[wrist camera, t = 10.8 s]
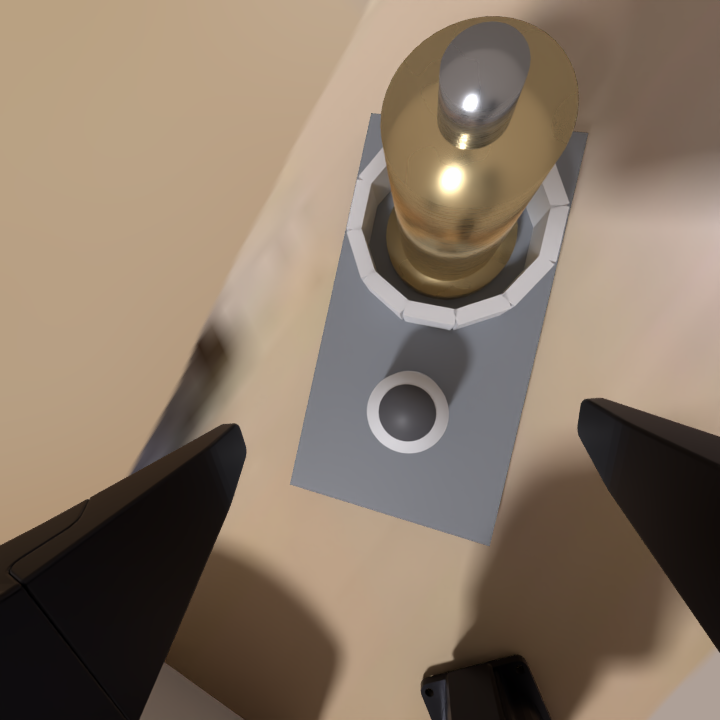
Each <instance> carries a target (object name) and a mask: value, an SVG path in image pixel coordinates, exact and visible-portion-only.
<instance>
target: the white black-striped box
mask: <svg viewBox="0 0 720 720" xmlns="http://www.w3.org/2000/svg"><path fill="white" fill-rule="evenodd" d="M140 720H244V719H243V718H241V717H240V716H239V715H237V714H236V713H234V712H233V711H232V710H230V709H229V708H227V707H226V706H225V705H223V704H222V703H220V702H219V701H218V700H216V699H215V698H214V697H212V696H211V695H209V694H208V693H207V692H205V691H204V690H202V689H201V688H200V687H198V686H197V685H195V684H194V683H193V682H191V681H190V680H189V679H187V678H186V677H184V676H183V675H182V674H180V673H179V672H177V671H176V670H175V669H173V668H172V667H170V666H169V665H168V664H166V663H165V662H164V664H163V666H162V668H161V671H160V673H159V675H158V678H157V680H156V682H155V685H154V687H153V689H152V692H151V694H150V696H149V699H148V701H147V703H146V706H145V708H144V710H143V713H142V715H141V717H140Z"/></svg>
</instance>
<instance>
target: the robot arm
mask: <svg viewBox="0 0 720 720" xmlns="http://www.w3.org/2000/svg"><path fill="white" fill-rule="evenodd" d="M577 429H578V435H579V437H580V439H581V441H582V443H583V445H584V447H585V448H586V450H587V452H588V454H589V456H590V458H591V460H592V461H593V463H594V465H595V467H596V469H597V471H598V472H599V474H600V476H601V478H602V480H603V482H604V483H605V485H606V487H607V489H608V490H609V492H610V493H611V495H612V496H613V498H614V499H615V501H616V502H617V504H618V505H619V507H620V508H621V510H622V511H623V513H624V514H625V515H626V517H627V518H628V520H629V521H630V523H631V524H632V526H633V527H634V529H635V530H636V532H637V533H638V534H639V536H640V537H641V539H642V540H643V542H644V543H645V545H646V546H647V548H648V549H649V550H650V552H651V553H652V555H653V556H654V558H655V559H656V561H657V562H658V564H659V565H660V566H661V568H662V569H663V571H664V572H665V574H666V575H667V577H668V578H669V580H670V581H671V582H672V584H673V585H674V587H675V588H676V590H677V591H678V593H679V594H680V596H681V597H682V598H683V600H684V601H685V603H686V604H687V606H688V607H689V609H690V610H691V612H692V613H693V615H694V616H695V617H696V619H697V620H698V622H699V623H700V625H701V626H702V628H703V629H704V631H705V632H706V633H707V635H708V636H709V638H710V639H711V641H712V642H713V644H714V645H715V647H716V648H717V649H718V651H719V652H720V437H719V436H716V435H713V434H710V433H707V432H704V431H701V430H698V429H695V428H692V427H689V426H686V425H683V424H680V423H677V422H674V421H671V420H668V419H665V418H662V417H659V416H656V415H653V414H649V413H646V412H643V411H640V410H637V409H634V408H631V407H628V406H625V405H622V404H619V403H616V402H613V401H610V400H607V399H604V398H591V399H585V400H583V401H582V403H581V406H580V413H579V420H578V427H577ZM245 458H246V446H245V442H244V439H243V436H242V433H241V430H240V427H239V426H238V425H237V424H235V423H233V424H222V425H220V426H218V427H217V428H215V429H213V430H211V431H209V432H208V433H206V434H204V435H202V436H200V437H198V438H197V439H195V440H193V441H191V442H189V443H188V444H186V445H184V446H182V447H180V448H179V449H177V450H175V451H173V452H171V453H170V454H168V455H166V456H164V457H162V458H161V459H159V460H157V461H155V462H153V463H152V464H150V465H148V466H146V467H144V468H143V469H141V470H139V471H137V472H135V473H134V474H132V475H130V476H128V477H126V478H124V479H123V480H121V481H119V482H117V483H115V484H114V485H112V486H110V487H108V488H107V489H105V490H103V491H101V492H99V493H97V494H96V495H94V496H92V497H91V498H90V500H89V499H87V500H85V501H83V502H81V503H79V504H77V505H76V506H74V507H72V508H70V509H68V510H67V511H65V512H63V513H61V514H59V515H57V516H55V517H54V518H52V519H50V520H48V521H46V522H45V523H43V524H41V525H39V526H37V527H35V528H33V529H31V530H29V531H27V532H25V533H23V534H21V535H19V536H17V537H16V538H14V539H12V540H10V541H8V542H6V543H4V544H2V545H0V720H140V717H141V715H142V713H143V710H144V708H145V706H146V703H147V701H148V699H149V696H150V694H151V692H152V689H153V687H154V685H155V682H156V680H157V678H158V675H159V673H160V671H161V668H162V666H163V664H164V661H165V659H166V656H167V654H168V652H169V649H170V647H171V645H172V642H173V640H174V638H175V635H176V633H177V631H178V628H179V626H180V624H181V621H182V619H183V617H184V614H185V612H186V610H187V607H188V605H189V603H190V600H191V598H192V595H193V593H194V591H195V588H196V586H197V584H198V581H199V579H200V577H201V574H202V572H203V570H204V567H205V565H206V563H207V560H208V558H209V556H210V553H211V551H212V549H213V546H214V544H215V541H216V539H217V537H218V534H219V532H220V530H221V527H222V525H223V523H224V520H225V518H226V516H227V513H228V511H229V508H230V506H231V503H232V500H233V497H234V494H235V490H236V487H237V484H238V481H239V477H240V474H241V471H242V468H243V464H244V461H245ZM518 665H521V666H522V667H521V668H516V666H518ZM427 688H430V689H432V690H427ZM421 695H422V697H423V700H424V702H425V705H426V707H427V710H428V712H429V714H430V717H431V719H432V720H551V717H550V715H549V713H548V710H547V708H546V706H545V704H544V701H543V699H542V697H541V694H540V692H539V690H538V687H537V685H536V683H535V680H534V678H533V676H532V673H531V671H530V669H529V667H528V664H527V662H526V660H525V659H524V658H523V657H522V656H519V655H513V656H509V657H505V658H502V659H498V660H494V661H490V662H486V663H482V664H478V665H474V666H471V667H467V668H463V669H459V670H455V671H451V672H447V673H443V674H439V675H436V676H432V677H428V678H425V679H423V680H422V682H421Z"/></svg>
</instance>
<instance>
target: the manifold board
mask: <svg viewBox="0 0 720 720" xmlns="http://www.w3.org/2000/svg"><path fill="white" fill-rule="evenodd" d="M380 122H381V114H373V113H371V117H370V121H369V126H368V130H367V135H366V140H365V144H364V149H363V153H362V158H361V162H360V167H359V172H358V176H357V181H356V185H355V190H354V194H353V199H352V204H351V208H350V213H349V217H348V222H347V226H346V231H345V236H344V240H343V245H342V249H341V254H340V258H339V263H338V268H337V272H336V277H335V281H334V286H333V290H332V295H331V300H330V304H329V309H328V313H327V318H326V322H325V327H324V332H323V336H322V341H321V345H320V350H319V354H318V359H317V364H316V368H315V373H314V377H313V382H312V386H311V391H310V396H309V400H308V405H307V409H306V414H305V418H304V423H303V427H302V432H301V437H300V441H299V446H298V450H297V455H296V459H295V464H294V469H293V473H292V478H291V482H290V485H294V486H297V487H300V488H303V489H306V490H310V491H313V492H316V493H319V494H323V495H326V496H329V497H332V498H335V499H339V500H342V501H345V502H348V503H352V504H355V505H358V506H361V507H365V508H368V509H371V510H374V511H377V512H381V513H384V514H387V515H390V516H394V517H397V518H400V519H403V520H406V521H410V522H413V523H416V524H419V525H423V526H426V527H429V528H432V529H435V530H439V531H442V532H445V533H448V534H452V535H455V536H458V537H461V538H465V539H468V540H471V541H474V542H477V543H481V544H484V545H487V546H490V542H491V538H492V534H493V530H494V526H495V522H496V517H497V513H498V509H499V505H500V501H501V496H502V492H503V488H504V484H505V480H506V476H507V471H508V467H509V463H510V459H511V455H512V450H513V446H514V442H515V438H516V434H517V429H518V425H519V421H520V417H521V413H522V409H523V404H524V400H525V396H526V392H527V388H528V383H529V379H530V375H531V371H532V367H533V363H534V358H535V354H536V350H537V346H538V342H539V337H540V333H541V329H542V325H543V321H544V317H545V312H546V308H547V304H548V300H549V296H550V291H551V287H552V283H553V279H554V275H555V270H556V266H557V262H558V258H559V254H560V250H561V245H562V241H563V237H564V233H565V229H566V224H567V220H568V216H569V212H570V208H571V204H572V199H573V195H574V191H575V187H576V183H577V178H578V174H579V170H580V166H581V162H582V157H583V153H584V149H585V145H586V141H587V137H588V133H583V132H572V135H571V138H570V140H569V142H568V144H567V146H566V148H565V150H564V151H563V153H562V154H561V156H560V157H559V159H558V160H557V162H556V163H555V165H554V166H553V168H552V169H551V171H550V172H549V174H548V175H547V177H546V178H545V180H544V181H543V182H542V184H541V185H540V187H539V188H538V190H537V191H536V193H535V194H534V196H533V197H532V199H531V200H530V202H529V203H528V205H527V206H526V208H525V209H524V211H523V212H522V214H521V215H520V217H519V218H518V219H517V224H518V230H517V239H516V244H515V247H514V250H513V253H512V255H511V257H510V259H509V261H508V262H507V264H506V265H505V267H504V268H503V269H502V270H501V271H500V273H499V274H498V275H497V276H496V277H495V278H494V279H493V280H492V281H491V282H490V283H489V284H488V285H487V286H485V287H484V288H482V289H481V290H479V291H477V292H476V293H474V294H471V295H469V296H466V297H462V298H458V299H451V300H440V299H433V298H430V297H426V296H424V295H421V294H419V293H417V292H416V291H414V290H412V289H411V288H410V287H408V286H407V285H406V284H405V283H404V282H403V281H402V280H401V279H400V277H399V276H398V274H397V273H396V271H395V269H394V267H393V265H392V262H391V259H390V256H389V253H388V249H387V241H386V231H387V224H388V220H389V217H390V214H391V211H392V209H393V207H394V202H393V197H392V192H391V187H390V181H389V176H388V171H387V166H386V161H385V155H384V150H383V145H382V140H381V129H380Z"/></svg>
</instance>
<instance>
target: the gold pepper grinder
mask: <svg viewBox="0 0 720 720" xmlns="http://www.w3.org/2000/svg"><path fill="white" fill-rule="evenodd" d="M578 101H579V95H578V84H577V80H576V76H575V72H574V70H573V67H572V65H571V62H570V60H569V59H568V57H567V55H566V54H565V52H564V50H563V49H562V48H561V47H560V46H559V44H558V43H557V42H556V41H555V40H554V39H553V38H552V37H550V36H549V35H548V34H547V33H546V32H544V31H542V30H541V29H539V28H537V27H536V26H534V25H531V24H529V23H527V22H524V21H521V20H517V19H514V18H508V17H500V16H486V17H478V18H472V19H468V20H464V21H460V22H458V23H455V24H453V25H450V26H448V27H446V28H444V29H442V30H440V31H438V32H436V33H435V34H433V35H432V36H430V37H429V38H427V39H426V40H424V41H423V42H422V43H421V44H420V45H419V46H417V47H416V48H415V49H414V50H413V51H412V52H411V53H410V54H409V55H408V57H407V58H406V59H405V60H404V61H403V63H402V64H401V65H400V67H399V68H398V70H397V71H396V73H395V75H394V77H393V78H392V80H391V82H390V85H389V87H388V89H387V91H386V95H385V98H384V101H383V106H382V111H381V122H380V129H381V140H382V145H383V150H384V155H385V161H386V166H387V171H388V176H389V181H390V187H391V192H392V197H393V202H394V207H393V209H392V211H391V214H390V217H389V220H388V224H387V231H386V241H387V249H388V253H389V256H390V259H391V262H392V265H393V267H394V269H395V271H396V273H397V274H398V276H399V277H400V279H401V280H402V281H403V282H404V283H405V284H406V285H407V286H408V287H410V288H411V289H412V290H414V291H416V292H417V293H419V294H421V295H424V296H426V297H430V298H433V299H440V300H451V299H458V298H462V297H466V296H469V295H471V294H474V293H476V292H477V291H479V290H481V289H482V288H484V287H485V286H487V285H488V284H489V283H490V282H491V281H492V280H493V279H494V278H495V277H496V276H497V275H498V274H499V273H500V271H501V270H502V269H503V268H504V267H505V265H506V264H507V262H508V261H509V259H510V257H511V255H512V253H513V250H514V247H515V244H516V239H517V230H518V224H517V219H518V218H519V217H520V215H521V214H522V212H523V211H524V209H525V208H526V206H527V205H528V203H529V202H530V200H531V199H532V197H533V196H534V194H535V193H536V191H537V190H538V188H539V187H540V185H541V184H542V182H543V181H544V180H545V178H546V177H547V175H548V174H549V172H550V171H551V169H552V168H553V166H554V165H555V163H556V162H557V160H558V159H559V157H560V156H561V154H562V153H563V151H564V150H565V148H566V146H567V144H568V142H569V140H570V138H571V135H572V132H573V129H574V126H575V123H576V118H577V113H578Z"/></svg>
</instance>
